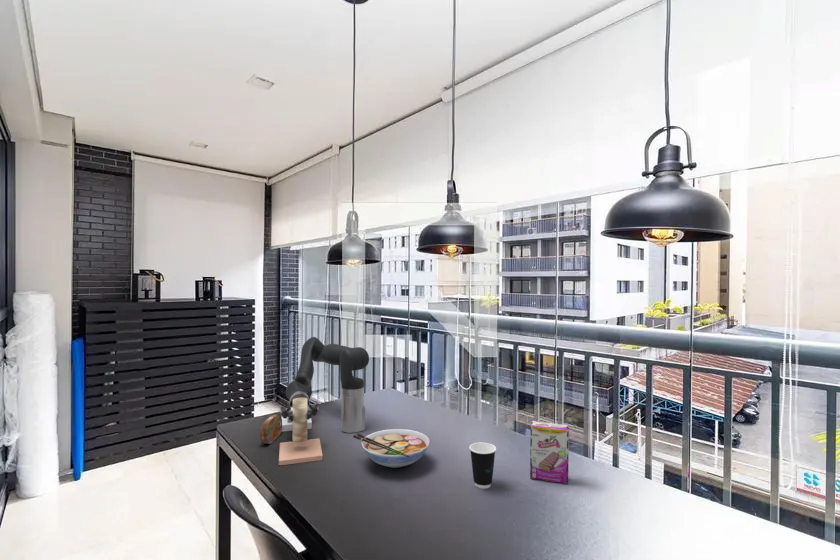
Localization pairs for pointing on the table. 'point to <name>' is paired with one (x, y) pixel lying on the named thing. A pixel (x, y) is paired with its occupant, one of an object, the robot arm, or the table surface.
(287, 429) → the pocket block
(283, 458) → the terracotta tile
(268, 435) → the tin
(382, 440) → the ramen bowl
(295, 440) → the maple plug
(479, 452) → the dixie cup
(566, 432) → the candy bar box
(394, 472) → the table surface
